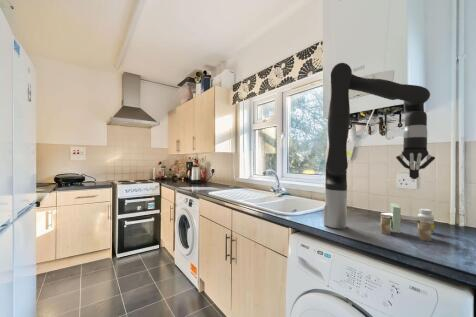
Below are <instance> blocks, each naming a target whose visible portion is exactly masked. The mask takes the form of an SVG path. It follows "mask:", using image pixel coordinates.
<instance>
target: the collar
mask: <svg viewBox="0 0 476 317" xmlns="http://www.w3.org/2000/svg"><path fill="white" fill-rule="evenodd" d="M401 209H402V208H401V207H400V205H399V204H398V203H392V202H391V203H390V214H392V220H391V219H390V229H391V230H392V232H395V233H401V221H400V216H401V215H402V214H401Z"/></svg>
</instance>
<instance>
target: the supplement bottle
mask: <svg viewBox="0 0 476 317" xmlns="http://www.w3.org/2000/svg"><path fill="white" fill-rule="evenodd" d="M432 212H433V211H432V210H431V209H430V208H429V209H428V208H419V213H418V214H417V217H423V218H429V219H430V223H431V235H432V234H434V233H435V222H434V220H435V218H434V217H435V216H434V215H432Z"/></svg>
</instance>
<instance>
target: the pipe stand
mask: <svg viewBox="0 0 476 317" xmlns="http://www.w3.org/2000/svg"><path fill="white" fill-rule="evenodd" d="M380 232H381V234H385V235H389V236H390V235H391V219H390V217H386V216H381V215H380ZM417 236H418V238H419V239H420V240H421V241H429V242H431V241H432V234H431V223H430V222H426V221H420V223H417Z"/></svg>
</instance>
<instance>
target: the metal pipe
mask: <svg viewBox="0 0 476 317" xmlns="http://www.w3.org/2000/svg"><path fill="white" fill-rule="evenodd" d="M381 216H386V217H390V221H391V220H392V214H391V213H388V212H387V213H386V212H380V217H381ZM420 221H426V222H430V219H429V218H423V217H418V216H413V215H403V214H401V216H400V222H407V223H415V224H418V223H420Z"/></svg>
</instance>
